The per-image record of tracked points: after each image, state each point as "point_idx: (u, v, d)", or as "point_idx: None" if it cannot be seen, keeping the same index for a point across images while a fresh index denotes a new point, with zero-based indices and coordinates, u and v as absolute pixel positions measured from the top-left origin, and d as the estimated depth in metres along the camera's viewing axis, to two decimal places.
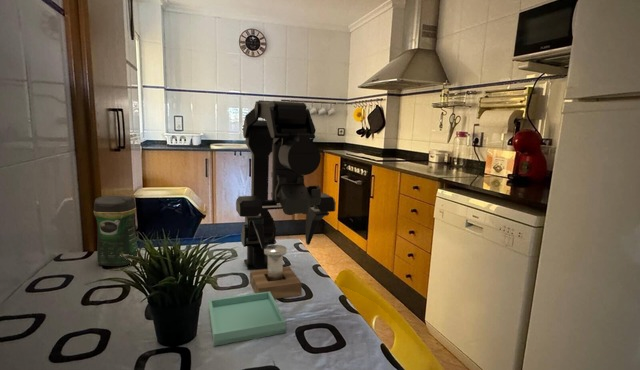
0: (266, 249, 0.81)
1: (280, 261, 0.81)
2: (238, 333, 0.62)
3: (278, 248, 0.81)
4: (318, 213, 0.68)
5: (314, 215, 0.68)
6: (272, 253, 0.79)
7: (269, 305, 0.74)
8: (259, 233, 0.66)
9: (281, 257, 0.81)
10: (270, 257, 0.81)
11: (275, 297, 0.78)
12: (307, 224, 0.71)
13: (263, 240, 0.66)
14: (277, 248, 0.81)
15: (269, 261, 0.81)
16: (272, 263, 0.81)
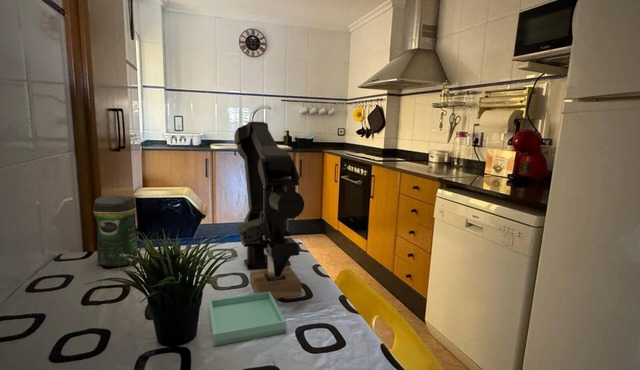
0: (266, 249, 0.81)
1: None
2: (238, 333, 0.62)
3: None
4: None
5: None
6: None
7: (269, 305, 0.74)
8: None
9: None
10: (270, 257, 0.81)
11: (275, 297, 0.78)
12: None
13: None
14: None
15: (269, 261, 0.81)
16: (272, 263, 0.81)
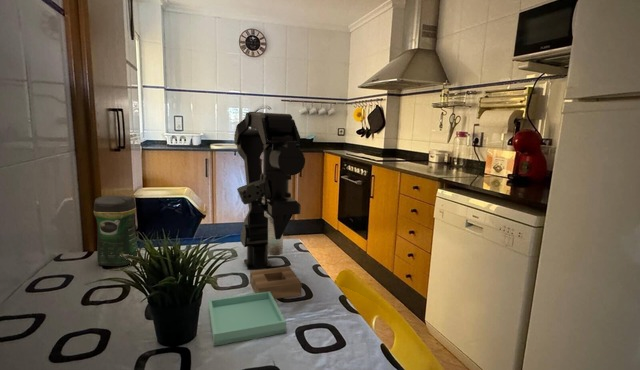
0: None
1: None
2: (238, 333, 0.62)
3: None
4: (269, 211, 0.76)
5: None
6: None
7: (269, 305, 0.74)
8: (267, 218, 0.83)
9: None
10: (270, 220, 0.79)
11: (275, 297, 0.78)
12: None
13: None
14: None
15: (269, 224, 0.79)
16: (272, 226, 0.79)
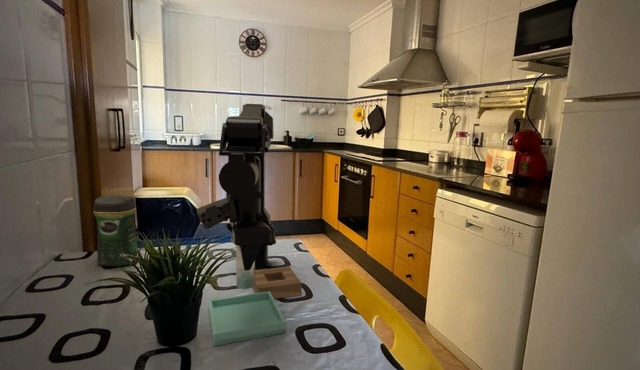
0: None
1: None
2: (238, 333, 0.62)
3: None
4: None
5: None
6: None
7: (269, 305, 0.74)
8: None
9: None
10: (238, 246, 0.65)
11: (275, 297, 0.78)
12: None
13: None
14: None
15: (237, 251, 0.65)
16: (240, 254, 0.65)
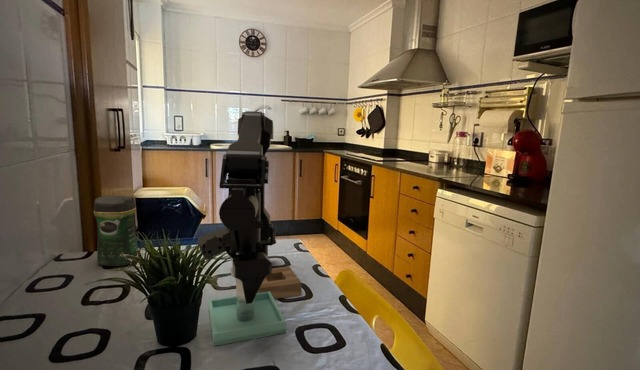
0: None
1: None
2: (238, 333, 0.62)
3: None
4: None
5: None
6: None
7: (269, 305, 0.74)
8: None
9: None
10: (238, 279, 0.66)
11: (275, 297, 0.78)
12: None
13: None
14: None
15: (237, 284, 0.67)
16: (240, 287, 0.66)
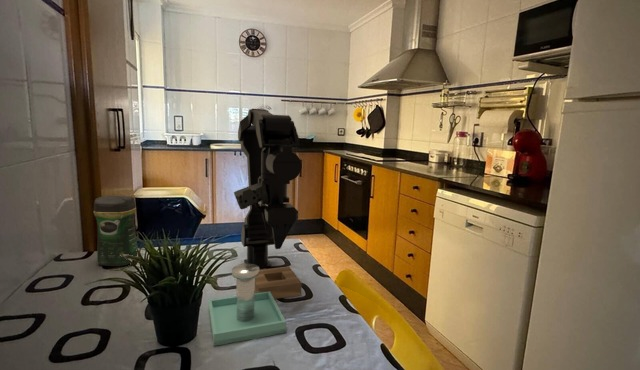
0: (234, 270, 0.66)
1: (251, 284, 0.67)
2: (238, 333, 0.62)
3: (249, 269, 0.67)
4: None
5: None
6: (241, 275, 0.65)
7: (269, 305, 0.74)
8: (263, 220, 0.83)
9: (252, 279, 0.67)
10: (238, 280, 0.66)
11: (275, 297, 0.78)
12: None
13: (265, 227, 0.82)
14: (247, 269, 0.67)
15: (238, 284, 0.66)
16: (241, 287, 0.66)
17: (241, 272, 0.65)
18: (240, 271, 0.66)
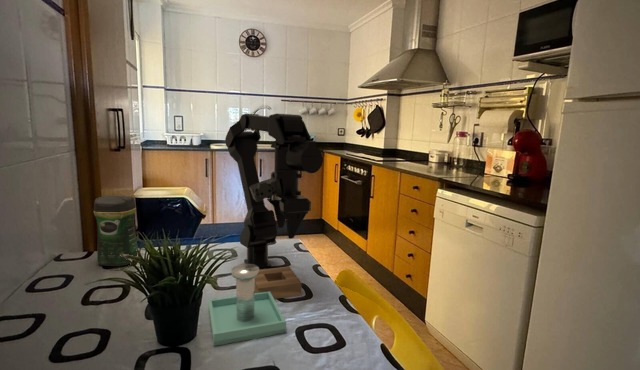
0: (234, 270, 0.66)
1: (250, 284, 0.66)
2: (238, 333, 0.62)
3: (249, 269, 0.67)
4: None
5: None
6: (240, 275, 0.65)
7: (269, 305, 0.74)
8: (275, 213, 0.88)
9: (252, 279, 0.67)
10: (238, 280, 0.66)
11: (275, 297, 0.78)
12: None
13: (277, 220, 0.88)
14: (247, 269, 0.67)
15: (237, 284, 0.66)
16: (240, 288, 0.66)
17: (241, 272, 0.65)
18: (240, 271, 0.66)
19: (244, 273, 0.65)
